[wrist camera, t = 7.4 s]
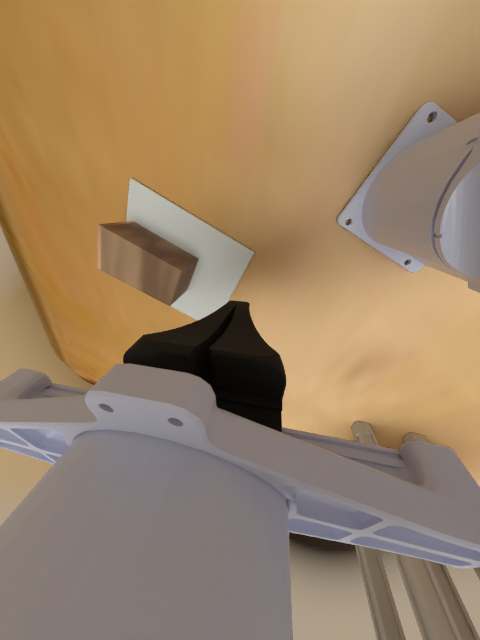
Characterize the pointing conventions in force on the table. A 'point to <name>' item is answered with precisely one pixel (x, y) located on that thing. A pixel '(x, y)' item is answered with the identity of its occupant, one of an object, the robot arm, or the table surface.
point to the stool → (412, 584)
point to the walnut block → (145, 260)
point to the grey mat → (192, 249)
